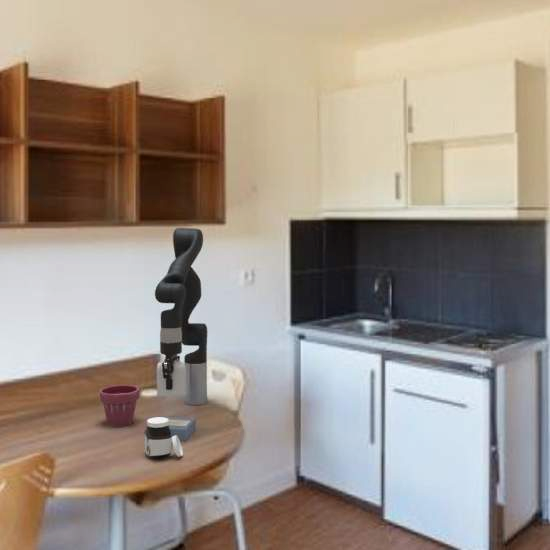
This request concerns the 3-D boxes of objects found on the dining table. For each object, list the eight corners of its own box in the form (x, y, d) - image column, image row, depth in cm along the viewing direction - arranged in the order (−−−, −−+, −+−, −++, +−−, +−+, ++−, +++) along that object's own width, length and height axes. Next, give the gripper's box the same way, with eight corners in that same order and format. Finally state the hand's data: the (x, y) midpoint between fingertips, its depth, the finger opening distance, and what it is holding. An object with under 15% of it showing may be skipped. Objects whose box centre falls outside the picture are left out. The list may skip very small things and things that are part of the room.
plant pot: (92, 425, 245) (91, 391, 244) (117, 415, 257) (117, 382, 256) (122, 430, 238) (122, 395, 237) (147, 420, 251) (146, 387, 250)
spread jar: (141, 452, 216) (141, 417, 215) (174, 447, 221) (174, 413, 221) (154, 464, 206) (153, 428, 205) (188, 458, 211) (187, 422, 210)
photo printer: (155, 396, 232) (155, 361, 231) (158, 393, 236) (157, 359, 235) (185, 396, 232) (185, 362, 231) (187, 393, 236) (186, 359, 235)
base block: (158, 427, 242) (158, 416, 242) (195, 429, 240) (195, 418, 240) (146, 439, 229) (146, 427, 229) (185, 441, 227) (185, 429, 227)
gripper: (166, 336, 240) (167, 382, 241) (154, 343, 226) (154, 392, 227) (186, 336, 239) (187, 383, 240) (175, 344, 225) (175, 393, 226)
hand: (171, 387), depth 234 cm, fingers closed on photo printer, 4 cm apart
